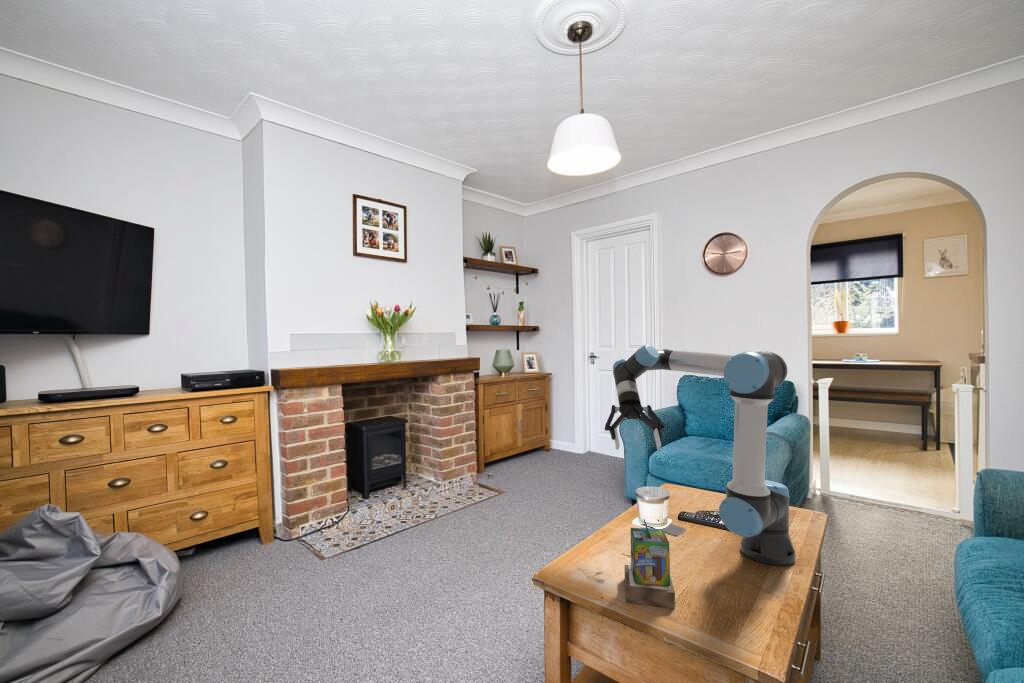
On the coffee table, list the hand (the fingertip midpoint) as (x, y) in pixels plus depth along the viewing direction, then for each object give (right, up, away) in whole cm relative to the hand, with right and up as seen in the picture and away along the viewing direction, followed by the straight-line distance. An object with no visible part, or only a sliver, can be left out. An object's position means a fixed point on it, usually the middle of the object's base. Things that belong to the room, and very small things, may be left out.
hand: (638, 447), depth 148 cm
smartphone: (+13, -33, +15) cm, 39 cm away
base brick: (-5, -33, -27) cm, 43 cm away
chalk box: (-5, -29, -27) cm, 40 cm away
